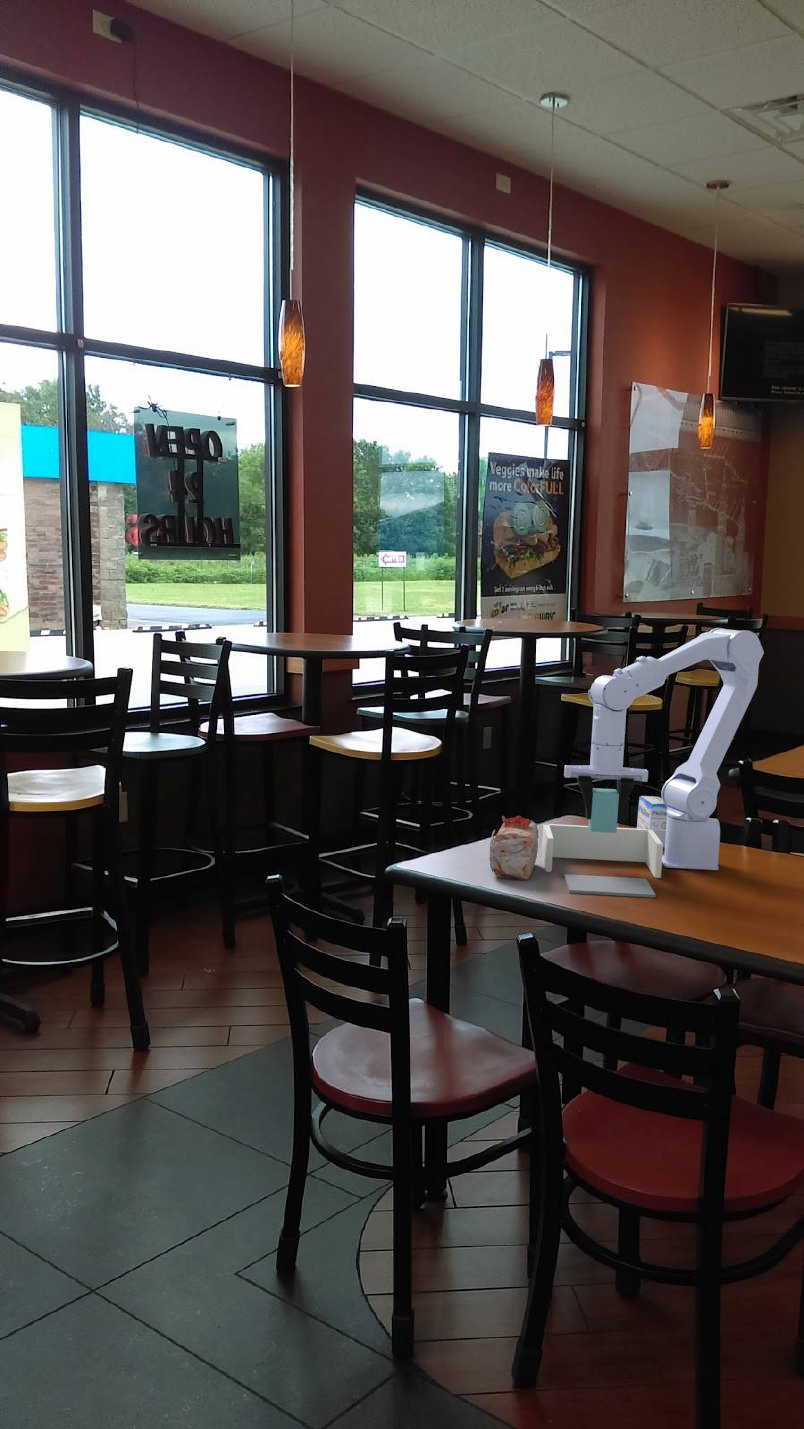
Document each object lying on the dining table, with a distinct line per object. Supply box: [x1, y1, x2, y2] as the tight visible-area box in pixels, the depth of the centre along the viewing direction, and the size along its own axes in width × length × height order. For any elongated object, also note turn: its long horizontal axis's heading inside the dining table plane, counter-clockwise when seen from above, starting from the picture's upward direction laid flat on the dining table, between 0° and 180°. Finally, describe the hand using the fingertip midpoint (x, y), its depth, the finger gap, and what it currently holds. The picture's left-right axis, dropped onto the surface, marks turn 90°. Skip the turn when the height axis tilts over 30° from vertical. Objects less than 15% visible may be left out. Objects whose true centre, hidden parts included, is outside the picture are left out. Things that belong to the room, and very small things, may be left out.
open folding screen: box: [541, 823, 664, 879], centre depth 204 cm, size 20×12×6 cm, turn 86°
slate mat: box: [563, 873, 657, 898], centre depth 190 cm, size 14×10×1 cm
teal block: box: [587, 787, 619, 833], centre depth 202 cm, size 4×4×7 cm
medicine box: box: [636, 795, 667, 848], centre depth 224 cm, size 8×4×9 cm, turn 6°
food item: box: [488, 815, 540, 881], centre depth 197 cm, size 14×8×10 cm, turn 170°
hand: (602, 818), depth 202 cm, fingers closed on teal block, 4 cm apart
